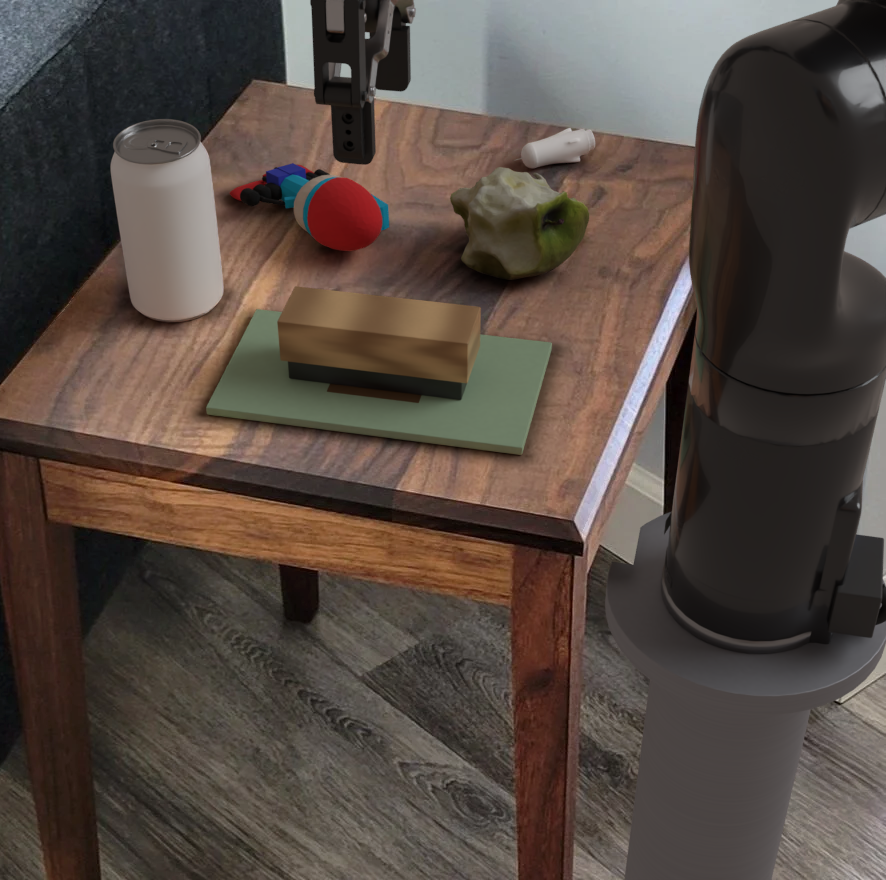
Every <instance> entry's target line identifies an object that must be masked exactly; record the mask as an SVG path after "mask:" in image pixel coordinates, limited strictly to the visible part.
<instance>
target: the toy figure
mask: <svg viewBox="0 0 886 880" xmlns="http://www.w3.org/2000/svg"><path fill="white" fill-rule="evenodd" d="M228 194H229V196H231V197H232V198H233V199H235V200H237V201H240V202H242V203H243V204H245V205H247V206H249V207H256V206H258V205H259V204H260V203H264V204H271V205H275V206H276V205H277V206H282V207H285V209H293V214H294V219H295V220H296V222H297V224H298V225H299V226H300V227H301V228H302V230H304V231H305V232H306V233H308V235H310V236H311V237H312V238H313V239H314V240H315V241H316V242H317V243H318V244H320V245H321V246H324V247H327V248H330V249H332V250H335V251H341V252H343V251H344V252H354V251H358V250H361V249H364V248H367V247H369V246H371V245H372V244H373V243H374V242H375V241H376V240H377V239H378V237H379V236H380V234H381V232H382V231H385V230H387V229H389V228H390V213H389V211H390V210H389V204H388V203H386V202H385V201H383V200H382V199H380V198H378V197H377V196H376V195H374V194H372V193H371V192H370V191H369V190H368V189H366V188H365V187H364V186H362V184H359V182H357V181H355V180H353V179H351V178H349V177H344V176H340V175H335V174H330V173H328V172H326V170H323V169H321V168H317V169H316V170H315V171H314V172H313V170H311V169H309V168H307V167H306V166H304V165H302V164H296V163H294V162H292V163H289V164H285V165H282V166H281V165H280V166H278V167H277V166H275V167H274V168H273V169H269V170H266V171H265V173H264V174H262V178H261V179H260V180H256V181H252V182H248V183H246V184H242V185H239V186H237V187H235V188H233V189H232V190H231V191H229V193H228Z"/></svg>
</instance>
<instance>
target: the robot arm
mask: <svg viewBox="0 0 886 880" xmlns="http://www.w3.org/2000/svg"><path fill="white" fill-rule="evenodd" d="M309 4H310V7H311V9H310V11H311V33H312V34H311V35H312V36H311V37H312V58H313V60H312V61H313V86H314V89H313V97H314V103H315V104H316V105H322V106H330V114H331V115H330V117H331V136H332V154H333V158H334V159H335V160H336V161H337V162H338V163H341V164H351V165H352V164H353V165H363V166H366V165H369V164H371V163H372V161H373V160H374V157H375V155H376V151H377V147H376V145H377V144H376V120H375V119H376V117H375V116H376V115H375V114H376V113H375V97H376V94H377V90H379V91H387V92H388V91H389V92H401V93H402V92H405V91H406V90H407V89H408V87H409V85H410V83H411V81H412V75H411V73H412V71H411V70H412V67H411V63H412V62H411V61H412V60H411V26H410V25H411V24H413V22H414V19H415V18H416V15H417V14H416V13H417V12H416V11H417V9H416V7H415V0H309ZM407 24H410V25H407ZM366 33H368V34H369V38H366ZM342 64H345V65H348V66H349V68H350V77H349V76H341V74H342V73H341V72H342ZM695 129H696V131H695V142H694V157H693V174H692V175H693V176H692V192H691V193H692V195H691V209H690V210H691V211H690V225H689V227H690V228H689V243H688V265H689V275H690V280H691V281H690V282H691V285H692V290H693V294H694V300H695V306H696V321H695V328H694V329H695V330H694V338H693V345H692V353H691V361H690V370H689V377H688V383H687V392H686V400H685V407H684V408H685V409H684V413H683V414H684V415H683V423H682V430H681V439H680V445H679V446H680V447H679V454H678V462H677V470H676V475H675V476H676V477H675V485H674V492H673V499H672V507H671V508H672V509H671V511H670V512H671V513H670V515H669V516H668V518H667V520H666V522H665V530H664V534H665V533H666V531H667V530H668V528H669V526H670V531H669V539H668V547H667V550H666V556H665V563H664V566H663V571H662V579H661V593H662V598H663V601H664V603H665V606H666V608H667V609H668V611H669V613H670V614H671V615H672V617H673V618H674V619H675V620H676V621H677V622H678V623H679V624H680V625H681V626H682V627H683V628H684V629H685V630H687V631H688V632H689V633H691V634H692V635H694V636H695V637H697V638H699V639H701V640H703V641H705V642H707V643H709V644H712V645H714V646H717V647H720V648H723V649H727V650H730V651H735V652H741V653H750V654H769V653H778V652H784V651H788V650H792V649H795V648H798V647H800V646H803V645H805V644H807V643H819V644H830V643H831V640H832V636H833V633H839V634H846V635H853V636H860V637H866V638H872V636H873V632H874V629H875V625H878V624H881V623H883V622H885V621H886V586H885V585H884V584H883V580H884V554H885V553H884V552H885V539H884V537H879V536H872V535H863V534H857V533H858V529H859V525H860V520H861V516H862V511H863V510H862V509H863V490H864V489H863V488H864V477H865V471H866V466H867V463H868V459H869V455H870V450H871V446H872V442H873V441H872V440H873V436H874V432H875V428H876V424H877V420H878V415H879V411H880V405H881V403H882V398H883V393H884V389H885V385H886V276H885V275H884V274H883V273H882V272H881V271H880V270H879V269H878V268H876V266H874V265H872V264H871V263H869V262H867V261H866V260H863V259H862V258H861V257H858V256H856V255H854V254H852V253H850V252H848V251H845V248H846V243H847V237H848V235H849V231H850V230H851V229H853V228H856V227H858V226H861V225H862V224H863V225H864V224H865V223H867V222H870V221H873V220H875V219H878V218H880V217H883V216H885V215H886V0H837V3H836V5H834V6H830V7H828V8H825V9H823V10H820V11H816V12H813V13H810V14H808V15H804V16H802V17H799V18H795V19H792V20H790V21H787V22H783V23H781V24H778V25H775V26H772V27H769V28H766V29H763V30H760V31H757V32H754V33H752V34H750V35H747V36H745V37H743V38H741V39H740V40H738V41H736V42H734V43H733V44H732V45H730V46H729V47H728V48H727V49H726V50H725V51H724V52H723V53H722V54H721V56H720V57H719V59H718V60H717V62H715V64H714V66H713V67H712V69H711V72H710V74H709V76H708V78H707V81H706V84H705V86H704V89H703V93H702V97H701V101H700V104H699V108H698V116H697V123H696V128H695ZM881 603H882V606H881V608H880V605H881Z"/></svg>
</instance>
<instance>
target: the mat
mask: <svg viewBox="0 0 886 880" xmlns="http://www.w3.org/2000/svg"><path fill="white" fill-rule="evenodd" d="M281 313H282V311H277V310H269V309H259V308H257V309H256V310H255V311H254V313H253V315H252V317H251V319H250V321H249V323H248V325H247V327H246V328H245V331H244V332H243V335H242V336H241V338H240V339H239V342H238V345H237V346H236V348H235V350H234V352H233V354H232V356H231V358H230V360H229V361H228V364H227V365H226V367H225V370H224V372H223V374H222V375H221V378H220V380H219V381H218V383H217V385H216V387H215V389H214V391H213V393H212V395H211V397H210V399H209V401H208V403H207V405H206V407H205V411H206V414H207V415H210V416H216V417H225V418H233V419H239V420H247V421H255V422H263V423H270V424H271V423H273V424H278V425H286V426H292V427H293V426H294V427H301V428H310V429H316V430H326V431H333V432H341V433H347V434H348V433H349V434H356V435H364V436H371V437H377V438H378V437H379V438H387V439H395V440H401V441H402V440H403V441H410V442H418V443H424V444H425V443H426V444H433V445H442V446H449V447H457V448H462V449H463V448H465V449H472V450H478V451H487V452H496V453H502V454H510V455H519V456H522V455H523V453H524V450H525V446H526V442H527V439H528V435H529V432H530V428H531V425H532V421H533V418H534V414H535V410H536V406H537V403H538V399H539V396H540V392H541V389H542V385H543V382H544V378H545V374H546V371H547V367H548V364H549V360H550V357H551V353H552V349H553V343H552V341H543V340H542V341H541V340H535V339H534V340H532V339H525V338H517V337H516V338H515V337H508V336H507V337H506V336H498V335H490V334H481V333H480V348H479V351H478V354H477V357H476V360H475V362H474V365H473V368H472V371H471V374H470V377H469V380H468V383H467V385H466V388H465V391H464V394H463V397H462V399H461V400H457V399H449V398H441V397H433V396H425V395H417V394H409V393H401V392H393V391H385V390H377V389H369V388H361V387H353V386H345V385H337V384H329V383H321V382H313V381H305V380H297V379H290V378H289V371H288V361H281V360H280V349H279V337H278V325H277V321H278V319H279V317H280V315H281Z"/></svg>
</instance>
